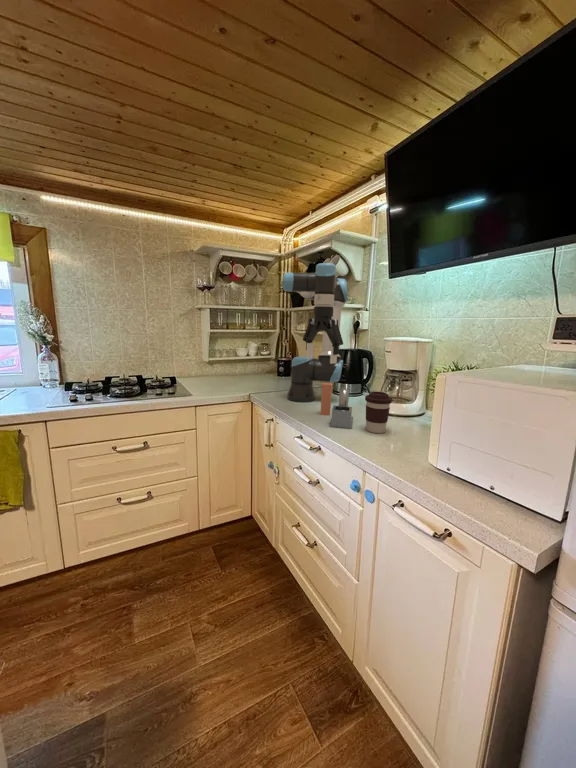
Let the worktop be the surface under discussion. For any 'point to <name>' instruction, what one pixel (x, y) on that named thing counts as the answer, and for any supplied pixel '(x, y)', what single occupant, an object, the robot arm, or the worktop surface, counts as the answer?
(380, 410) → the coffee cup
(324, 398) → the orange rectangular bar
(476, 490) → the worktop surface
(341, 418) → the grey holder stand
